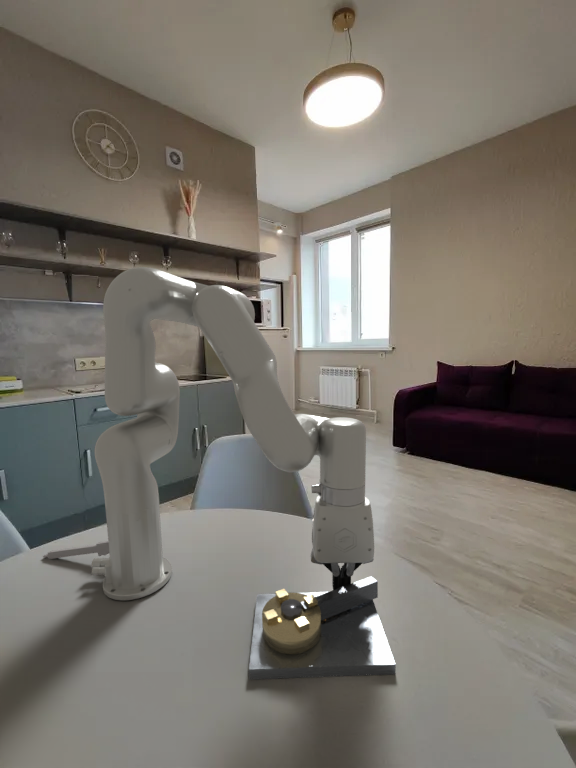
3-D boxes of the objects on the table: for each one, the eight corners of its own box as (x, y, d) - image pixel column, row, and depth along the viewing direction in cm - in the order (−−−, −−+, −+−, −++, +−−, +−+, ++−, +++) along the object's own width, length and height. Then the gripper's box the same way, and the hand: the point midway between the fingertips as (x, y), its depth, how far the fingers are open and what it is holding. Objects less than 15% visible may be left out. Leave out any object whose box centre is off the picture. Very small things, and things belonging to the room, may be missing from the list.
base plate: (249, 679, 49) (248, 668, 49) (257, 602, 64) (257, 593, 64) (395, 674, 49) (395, 663, 49) (369, 598, 64) (369, 589, 64)
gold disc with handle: (254, 620, 58) (253, 597, 57) (358, 580, 67) (358, 561, 66) (277, 663, 50) (276, 638, 49) (392, 612, 58) (392, 590, 58)
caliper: (130, 563, 77) (130, 533, 77) (127, 565, 76) (127, 535, 76) (46, 556, 80) (46, 528, 81) (42, 558, 79) (42, 530, 80)
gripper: (298, 501, 57) (299, 609, 59) (393, 500, 57) (390, 608, 59) (297, 483, 64) (297, 579, 66) (380, 482, 65) (378, 578, 67)
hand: (341, 592), depth 63 cm, fingers closed
